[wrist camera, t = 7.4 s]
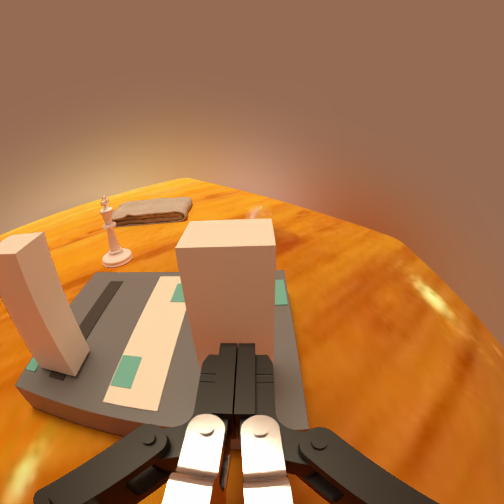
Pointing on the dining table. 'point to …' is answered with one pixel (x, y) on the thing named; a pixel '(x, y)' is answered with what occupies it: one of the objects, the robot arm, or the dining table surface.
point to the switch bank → (149, 358)
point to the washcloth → (152, 211)
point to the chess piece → (113, 240)
